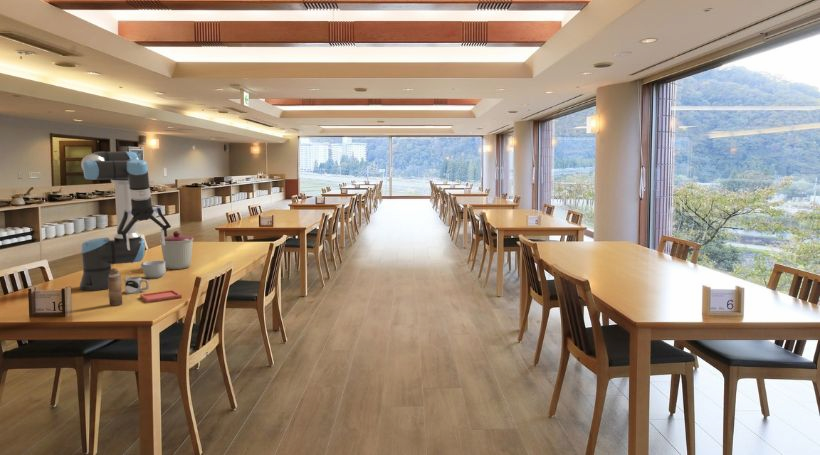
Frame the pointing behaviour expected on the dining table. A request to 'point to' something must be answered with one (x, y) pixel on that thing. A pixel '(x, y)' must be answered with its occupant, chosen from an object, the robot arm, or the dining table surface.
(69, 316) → the dining table surface
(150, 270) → the teacup
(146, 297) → the tray
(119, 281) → the pepper mill
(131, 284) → the mug
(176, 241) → the canister
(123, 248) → the robot arm
